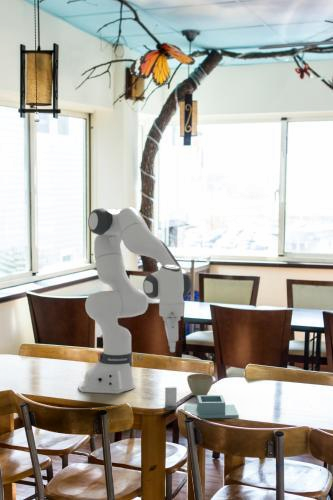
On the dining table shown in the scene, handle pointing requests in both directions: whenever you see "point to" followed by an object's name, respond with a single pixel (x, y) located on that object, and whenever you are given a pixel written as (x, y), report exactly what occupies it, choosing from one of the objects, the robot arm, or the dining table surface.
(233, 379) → the dining table surface
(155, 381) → the dining table surface
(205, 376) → the flower pot
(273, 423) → the dining table surface
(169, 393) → the gray rectangular block
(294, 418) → the dining table surface
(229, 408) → the well
